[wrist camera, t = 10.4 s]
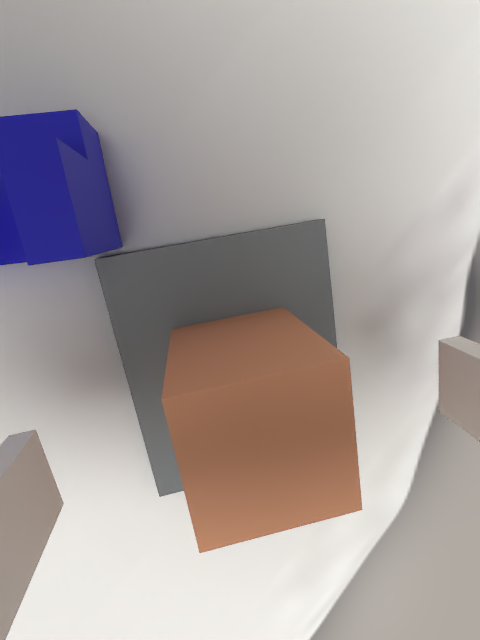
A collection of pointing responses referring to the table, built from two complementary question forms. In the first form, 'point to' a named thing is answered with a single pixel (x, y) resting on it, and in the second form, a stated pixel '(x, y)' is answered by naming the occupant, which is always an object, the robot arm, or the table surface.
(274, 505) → the peach clay cube
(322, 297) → the stand
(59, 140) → the blue arch bracket
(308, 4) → the table surface
